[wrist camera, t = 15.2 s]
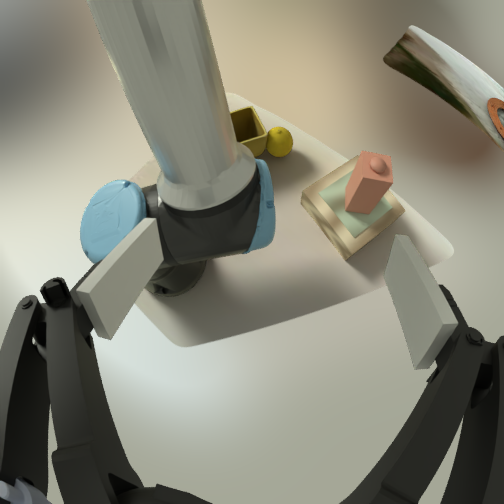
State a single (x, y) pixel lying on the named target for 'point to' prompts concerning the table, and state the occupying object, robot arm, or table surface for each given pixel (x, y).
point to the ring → (492, 108)
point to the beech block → (347, 212)
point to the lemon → (279, 141)
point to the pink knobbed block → (368, 182)
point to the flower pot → (249, 130)
